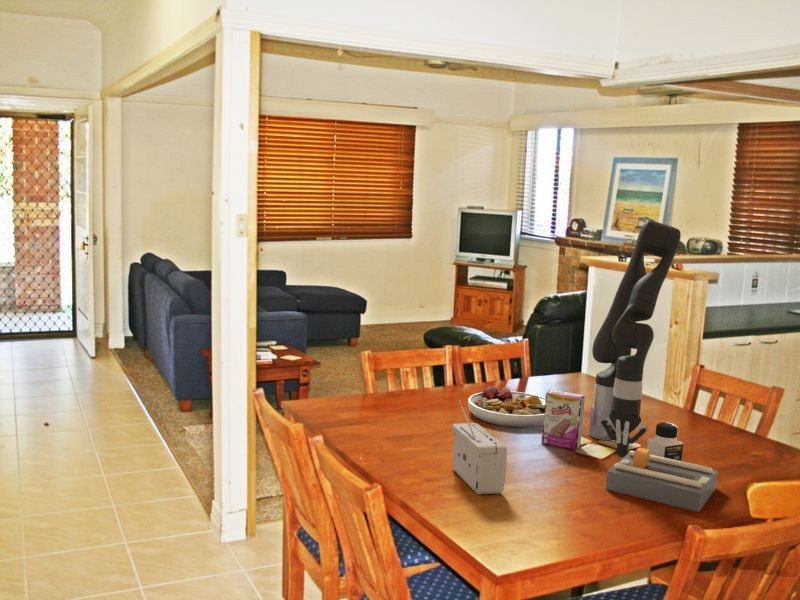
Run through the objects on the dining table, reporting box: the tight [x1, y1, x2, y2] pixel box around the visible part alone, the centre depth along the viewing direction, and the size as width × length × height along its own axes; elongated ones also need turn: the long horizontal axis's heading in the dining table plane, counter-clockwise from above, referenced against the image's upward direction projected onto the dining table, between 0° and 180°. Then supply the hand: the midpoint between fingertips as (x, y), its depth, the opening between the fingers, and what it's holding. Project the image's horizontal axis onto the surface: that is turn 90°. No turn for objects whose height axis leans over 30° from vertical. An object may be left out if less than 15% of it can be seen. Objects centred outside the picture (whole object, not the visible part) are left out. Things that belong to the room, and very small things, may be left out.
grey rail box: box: [605, 450, 719, 513], centre depth 229 cm, size 24×20×7 cm
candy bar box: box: [541, 389, 586, 451], centre depth 260 cm, size 11×5×16 cm, turn 65°
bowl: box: [467, 385, 546, 428], centre depth 290 cm, size 30×30×8 cm
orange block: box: [633, 447, 650, 469], centre depth 231 cm, size 3×5×4 cm, turn 148°
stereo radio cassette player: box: [451, 400, 508, 495], centre depth 226 cm, size 21×8×20 cm, turn 17°
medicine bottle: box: [646, 421, 684, 461], centre depth 248 cm, size 7×7×12 cm
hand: (621, 456), depth 234 cm, fingers closed
